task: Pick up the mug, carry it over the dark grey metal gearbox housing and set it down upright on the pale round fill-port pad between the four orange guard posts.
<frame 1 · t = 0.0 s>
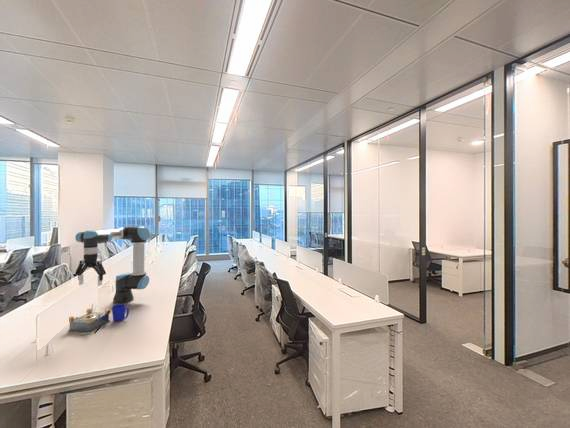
hand: (90, 284, 174), 28 cm above the table, fingers open, 13 cm apart
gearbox: (90, 326, 174), on the table
mug: (121, 320, 184), on the table
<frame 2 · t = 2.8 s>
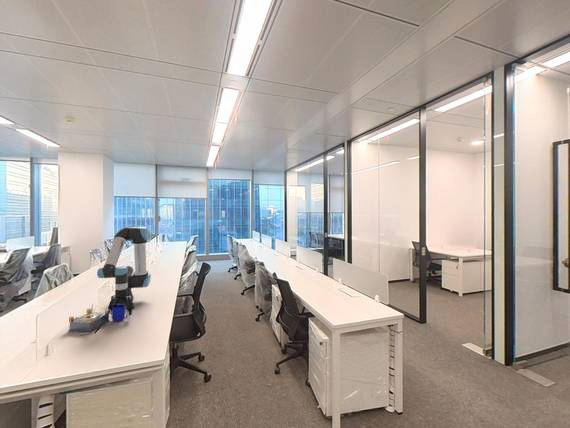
hand: (121, 319, 184), 1 cm above the table, fingers closed on mug, 11 cm apart
mug: (120, 320, 184), on the table, touching gripper
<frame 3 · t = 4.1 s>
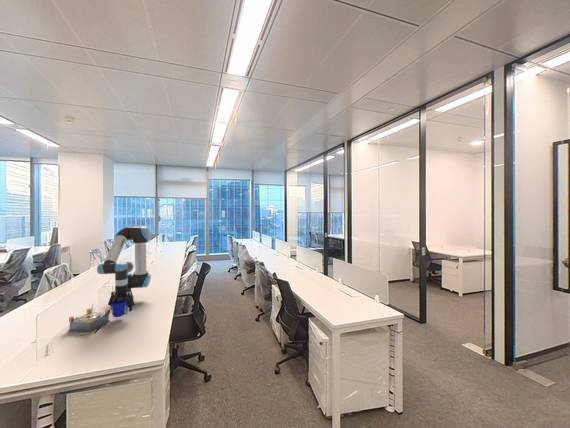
hand: (121, 315, 184), 4 cm above the table, fingers closed on mug, 11 cm apart
mug: (121, 316, 184), point 3 cm above the table, touching gripper
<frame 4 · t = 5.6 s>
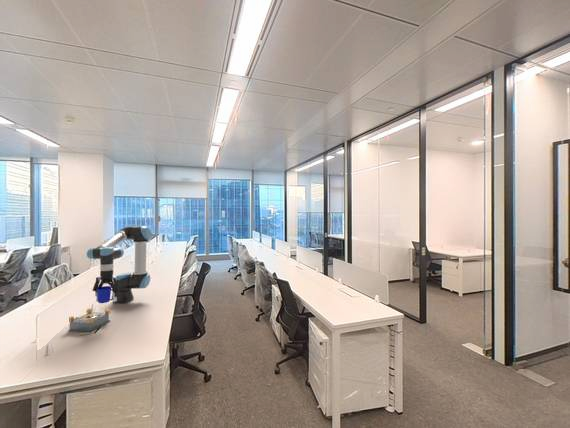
hand: (106, 301, 179), 15 cm above the table, fingers closed on mug, 11 cm apart
mug: (106, 302, 179), point 14 cm above the table, touching gripper
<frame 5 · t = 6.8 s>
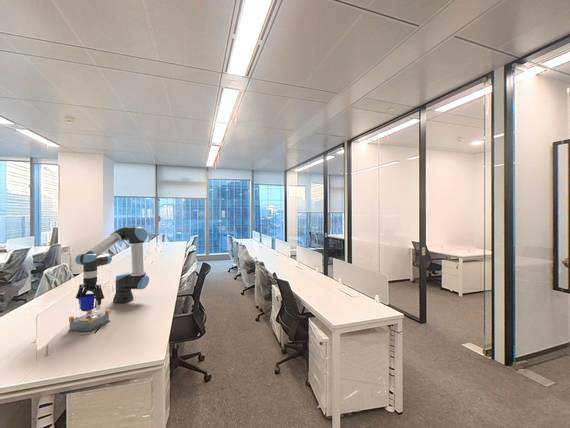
hand: (89, 309, 174), 11 cm above the table, fingers closed on mug, 11 cm apart
mug: (89, 310, 174), point 11 cm above the table, touching gripper
when the fingers open (8 cm above the table, at t = 8.0 s): mug stays where it is, resting on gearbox.
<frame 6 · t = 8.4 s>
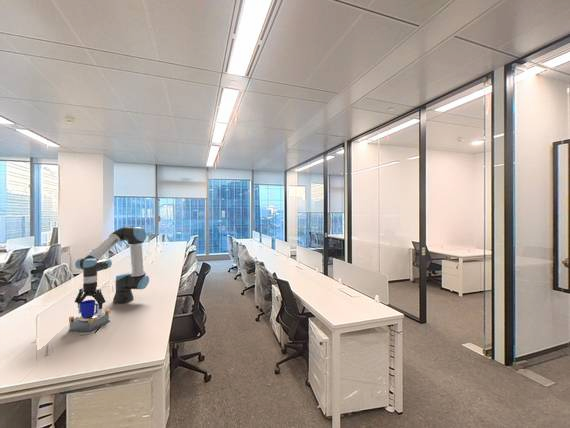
hand: (90, 313, 174), 9 cm above the table, fingers open, 13 cm apart
mug: (90, 316, 174), point 6 cm above the table, touching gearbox
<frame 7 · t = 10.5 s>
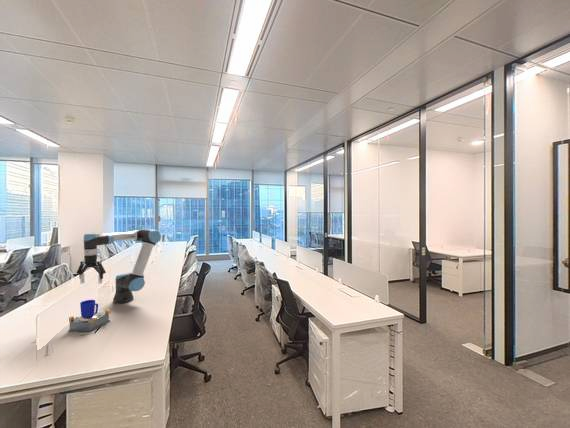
hand: (91, 283, 189), 25 cm above the table, fingers open, 13 cm apart
nothing on the table moved.
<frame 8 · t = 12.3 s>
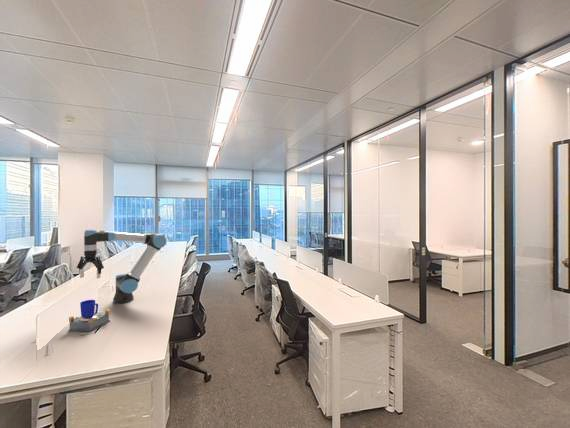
hand: (90, 277, 196), 27 cm above the table, fingers open, 13 cm apart
nothing on the table moved.
at the end: mug 0.1 cm from the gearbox (horizontally); mug point 6.1 cm above the table; mug tilted 0° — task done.
